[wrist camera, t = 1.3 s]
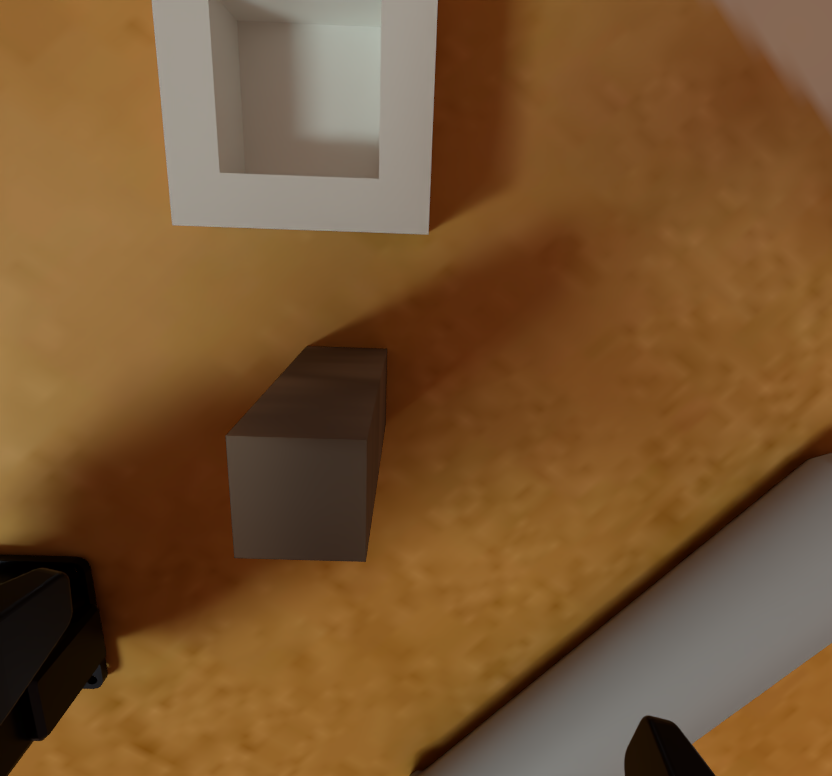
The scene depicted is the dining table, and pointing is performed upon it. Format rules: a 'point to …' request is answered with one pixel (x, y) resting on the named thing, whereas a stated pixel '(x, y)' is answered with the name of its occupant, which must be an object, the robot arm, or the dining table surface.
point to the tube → (677, 645)
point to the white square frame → (298, 112)
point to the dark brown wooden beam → (310, 458)
